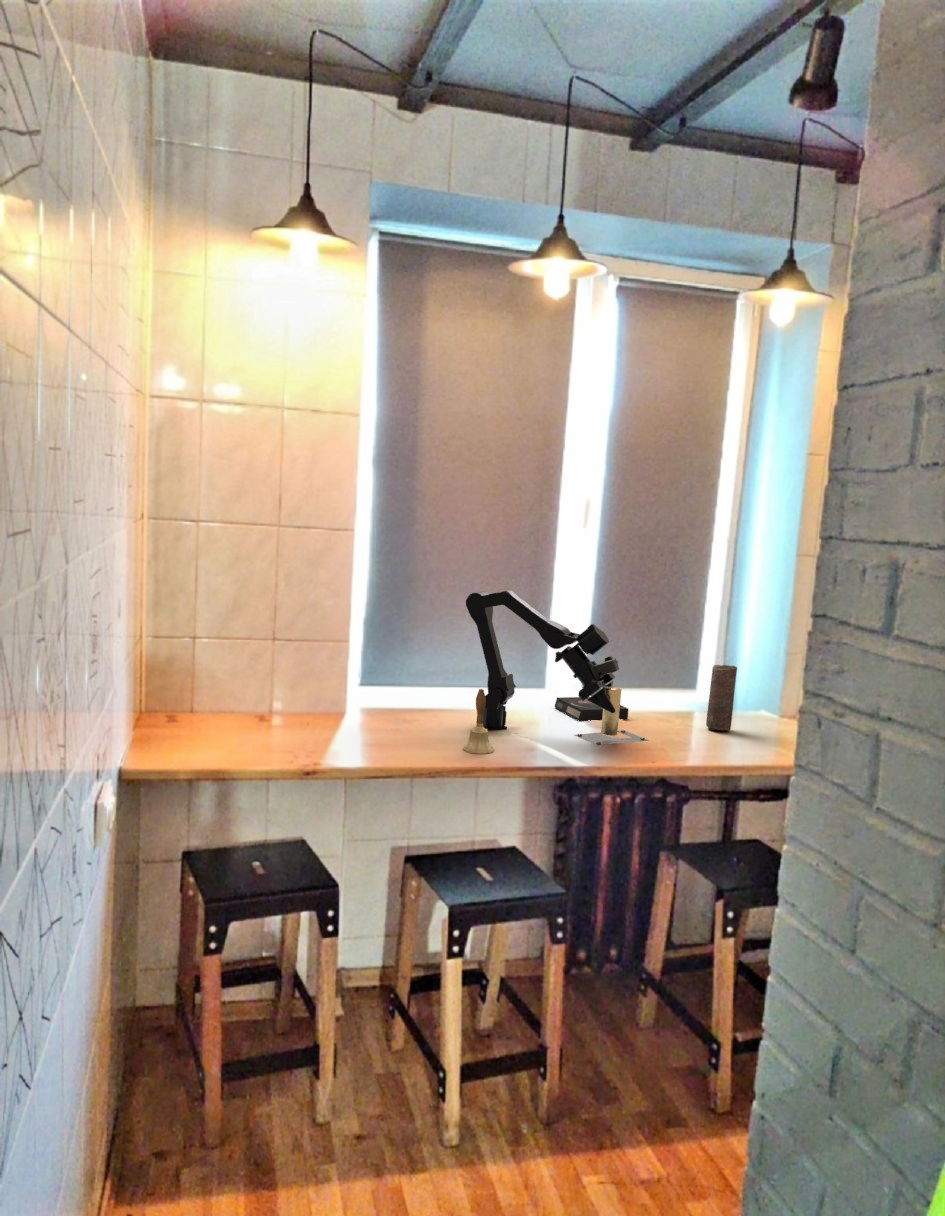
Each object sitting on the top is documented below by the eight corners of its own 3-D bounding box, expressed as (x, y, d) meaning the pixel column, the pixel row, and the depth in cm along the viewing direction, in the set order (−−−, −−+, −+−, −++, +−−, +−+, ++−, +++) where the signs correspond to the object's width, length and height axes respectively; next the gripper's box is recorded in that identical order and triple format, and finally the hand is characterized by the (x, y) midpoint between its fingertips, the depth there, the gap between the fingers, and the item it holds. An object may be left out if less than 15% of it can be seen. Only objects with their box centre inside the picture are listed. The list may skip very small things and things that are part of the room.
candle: (729, 735, 276) (736, 668, 273) (704, 731, 278) (711, 665, 276) (731, 729, 283) (738, 665, 281) (706, 726, 285) (713, 662, 283)
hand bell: (467, 754, 236) (471, 693, 234) (458, 745, 244) (462, 686, 242) (498, 754, 238) (502, 693, 236) (488, 745, 246) (492, 686, 244)
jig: (597, 750, 248) (598, 743, 247) (572, 740, 257) (573, 733, 257) (648, 745, 257) (649, 738, 257) (623, 735, 266) (623, 729, 266)
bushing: (607, 736, 250) (612, 690, 248) (597, 731, 254) (601, 687, 252) (620, 735, 252) (624, 690, 251) (610, 730, 256) (614, 686, 254)
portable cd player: (554, 709, 295) (555, 697, 295) (601, 708, 301) (602, 696, 301) (578, 722, 280) (579, 709, 280) (627, 721, 286) (628, 708, 286)
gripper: (594, 651, 243) (631, 699, 240) (610, 643, 260) (645, 687, 257) (562, 677, 247) (599, 724, 244) (581, 666, 264) (615, 710, 261)
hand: (616, 710), depth 252 cm, fingers closed on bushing, 4 cm apart
